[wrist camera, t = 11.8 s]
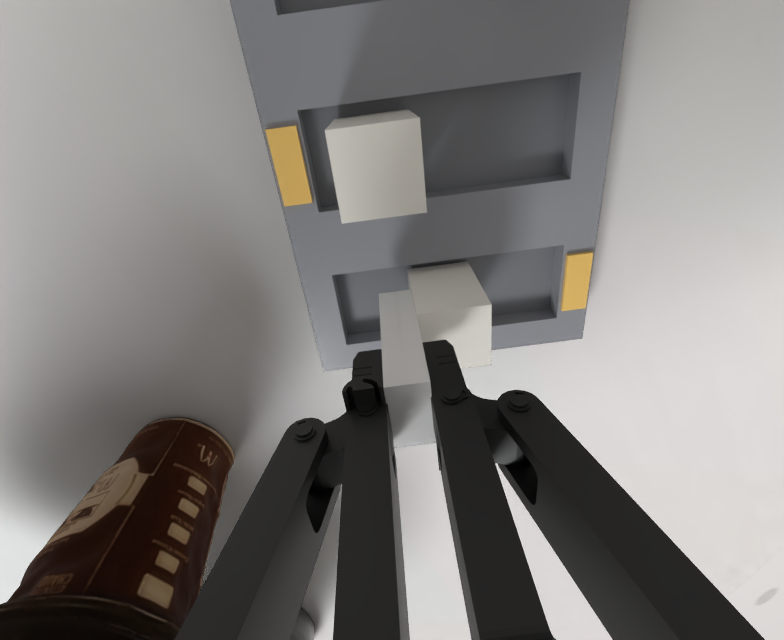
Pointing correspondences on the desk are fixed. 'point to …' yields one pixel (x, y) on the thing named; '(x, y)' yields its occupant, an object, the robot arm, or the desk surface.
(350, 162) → the tab
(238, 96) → the desk surface
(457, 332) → the tab
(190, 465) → the coffee cup
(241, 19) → the switch board
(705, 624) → the robot arm
